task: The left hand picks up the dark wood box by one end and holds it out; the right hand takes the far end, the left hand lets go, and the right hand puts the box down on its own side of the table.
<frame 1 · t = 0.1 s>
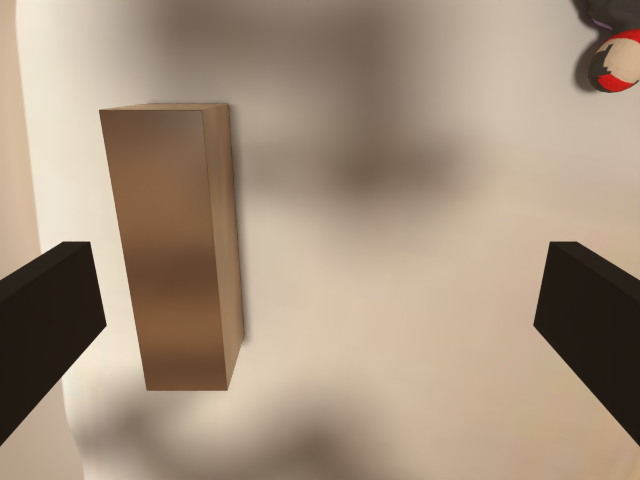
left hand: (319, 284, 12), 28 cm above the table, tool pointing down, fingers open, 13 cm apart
box: (200, 230, 41), on the table
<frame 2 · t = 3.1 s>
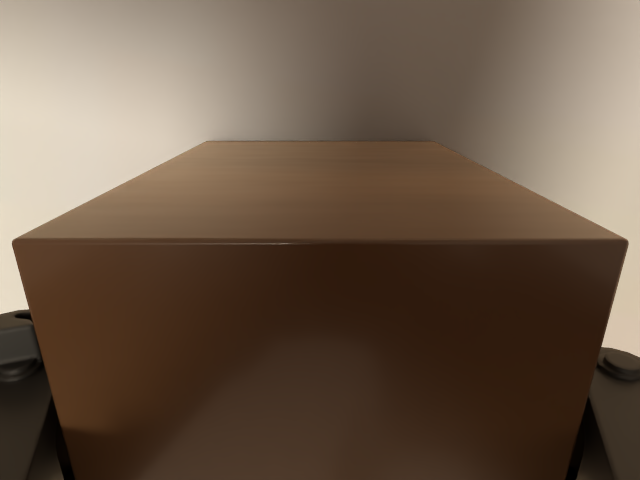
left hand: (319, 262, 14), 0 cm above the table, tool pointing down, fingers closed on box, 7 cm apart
box: (320, 438, 17), on the table, touching left hand
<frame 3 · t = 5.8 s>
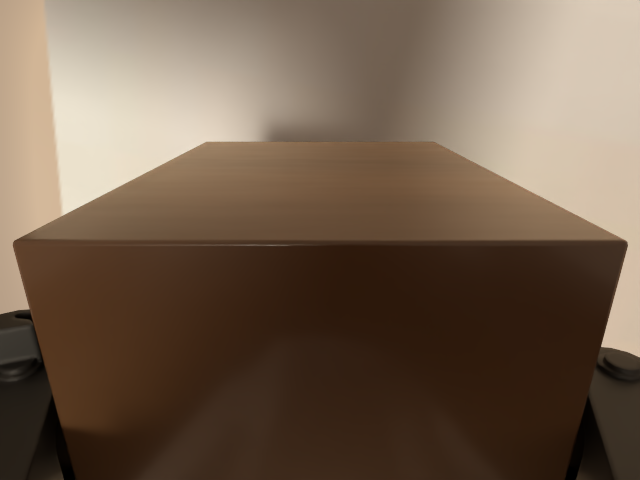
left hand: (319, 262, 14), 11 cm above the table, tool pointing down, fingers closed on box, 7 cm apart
box: (320, 438, 17), point 10 cm above the table, touching left hand
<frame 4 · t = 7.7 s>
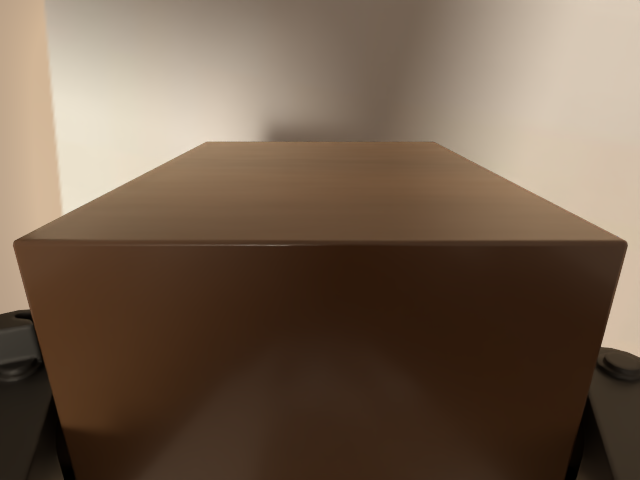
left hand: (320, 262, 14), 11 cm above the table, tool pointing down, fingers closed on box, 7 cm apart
box: (320, 438, 17), point 10 cm above the table, touching left hand, right hand
when the left hand's fingers open (11 cm above the table, at t = 8.5 s): box stays where it is, held by the right hand.
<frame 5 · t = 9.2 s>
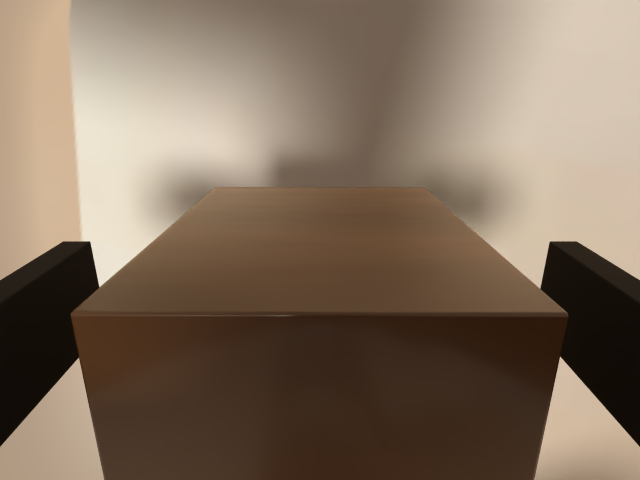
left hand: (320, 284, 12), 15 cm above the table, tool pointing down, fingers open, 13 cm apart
box: (319, 460, 18), point 12 cm above the table, touching right hand
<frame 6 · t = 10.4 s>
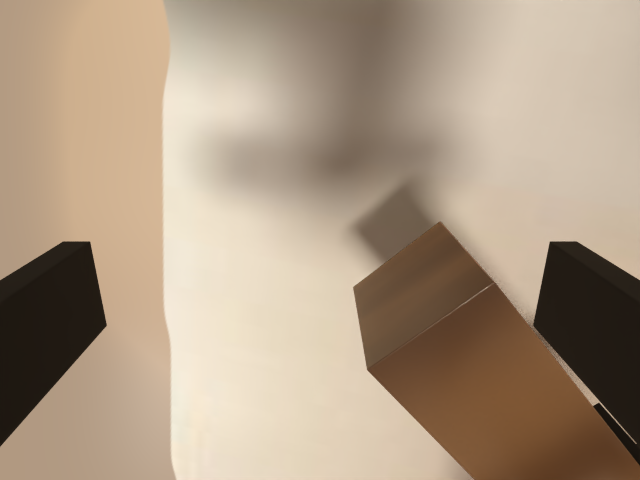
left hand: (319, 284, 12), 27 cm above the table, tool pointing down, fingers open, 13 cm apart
box: (494, 370, 31), point 13 cm above the table, touching right hand
when the right hand's fingers open (2 cm above the table, at t = 13.1 s): box drops 1 cm, on the table.
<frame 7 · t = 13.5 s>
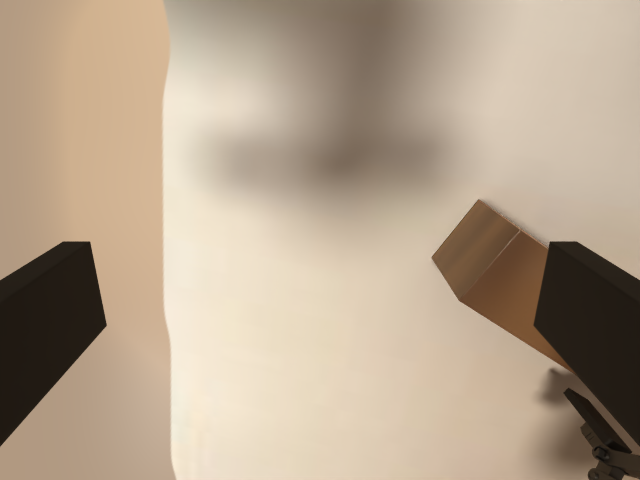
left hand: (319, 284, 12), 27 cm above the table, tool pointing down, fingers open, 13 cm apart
box: (544, 289, 43), on the table
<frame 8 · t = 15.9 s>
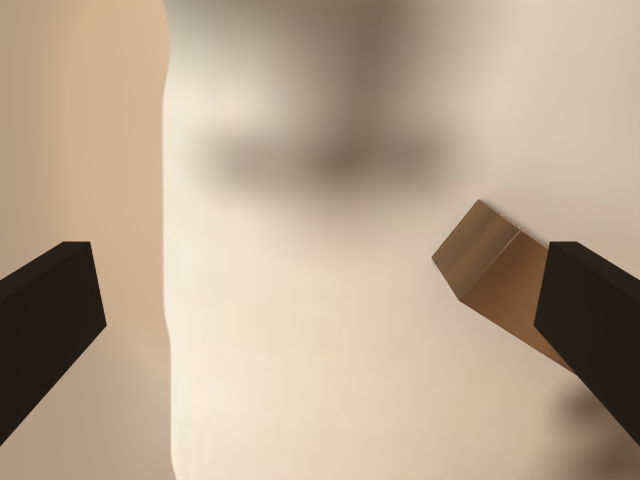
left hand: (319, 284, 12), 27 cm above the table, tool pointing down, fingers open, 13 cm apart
box: (544, 289, 43), on the table
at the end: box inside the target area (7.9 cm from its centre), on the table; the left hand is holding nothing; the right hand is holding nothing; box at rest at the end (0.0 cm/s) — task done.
